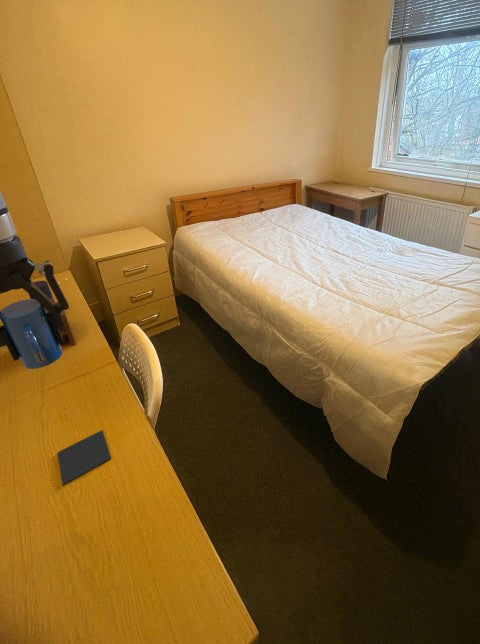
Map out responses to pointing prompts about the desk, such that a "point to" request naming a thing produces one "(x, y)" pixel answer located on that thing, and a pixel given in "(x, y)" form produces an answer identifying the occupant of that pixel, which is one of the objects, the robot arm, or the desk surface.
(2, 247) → the robot arm
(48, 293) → the deodorant
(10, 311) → the blue oval cylinder
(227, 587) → the desk surface
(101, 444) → the mat
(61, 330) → the shelf
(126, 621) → the desk surface
